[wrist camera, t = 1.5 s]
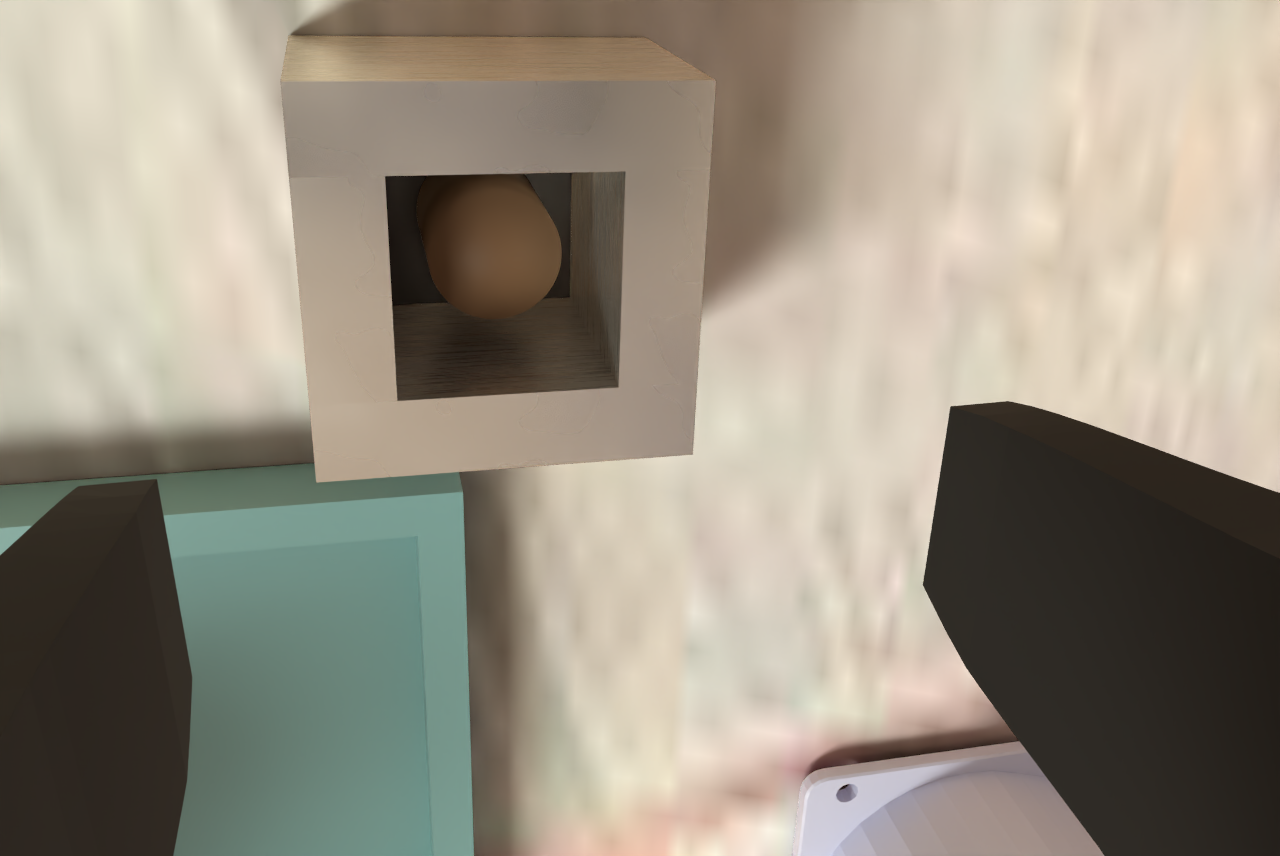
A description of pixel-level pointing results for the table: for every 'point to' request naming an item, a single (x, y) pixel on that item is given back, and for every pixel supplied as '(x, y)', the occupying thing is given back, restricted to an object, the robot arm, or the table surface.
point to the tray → (314, 658)
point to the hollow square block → (555, 327)
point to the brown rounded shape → (488, 242)
